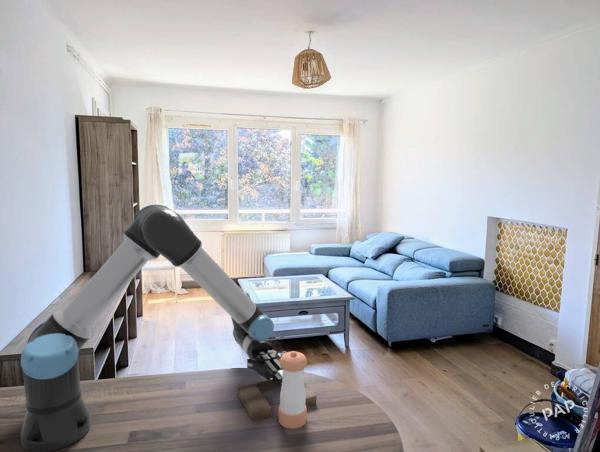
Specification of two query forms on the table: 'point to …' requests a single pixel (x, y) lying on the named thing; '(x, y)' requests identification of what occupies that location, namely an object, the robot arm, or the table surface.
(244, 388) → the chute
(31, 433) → the robot arm
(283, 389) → the salt shaker
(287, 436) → the table surface
